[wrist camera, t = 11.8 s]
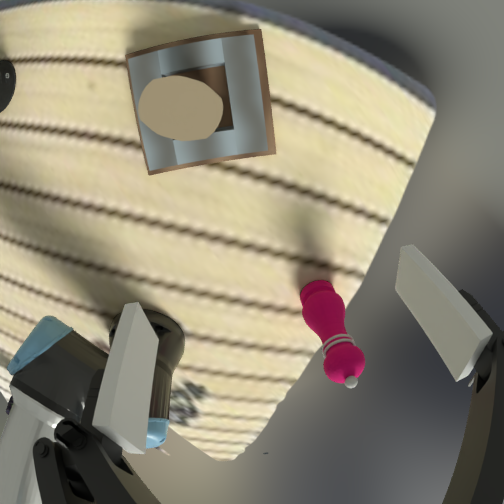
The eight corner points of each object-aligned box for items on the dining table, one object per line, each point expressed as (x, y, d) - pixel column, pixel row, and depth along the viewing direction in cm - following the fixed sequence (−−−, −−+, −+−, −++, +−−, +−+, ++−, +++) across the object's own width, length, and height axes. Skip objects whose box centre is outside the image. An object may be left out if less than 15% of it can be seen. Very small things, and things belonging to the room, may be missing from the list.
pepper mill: (298, 279, 48) (332, 377, 31) (338, 275, 49) (384, 366, 32) (295, 310, 52) (323, 404, 35) (333, 305, 53) (369, 394, 36)
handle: (181, 76, 29) (150, 68, 17) (230, 91, 31) (232, 91, 18) (168, 111, 32) (131, 127, 19) (216, 126, 33) (209, 150, 21)
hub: (150, 173, 37) (141, 185, 32) (127, 55, 28) (114, 51, 23) (274, 152, 37) (282, 161, 33) (260, 30, 28) (265, 21, 24)
